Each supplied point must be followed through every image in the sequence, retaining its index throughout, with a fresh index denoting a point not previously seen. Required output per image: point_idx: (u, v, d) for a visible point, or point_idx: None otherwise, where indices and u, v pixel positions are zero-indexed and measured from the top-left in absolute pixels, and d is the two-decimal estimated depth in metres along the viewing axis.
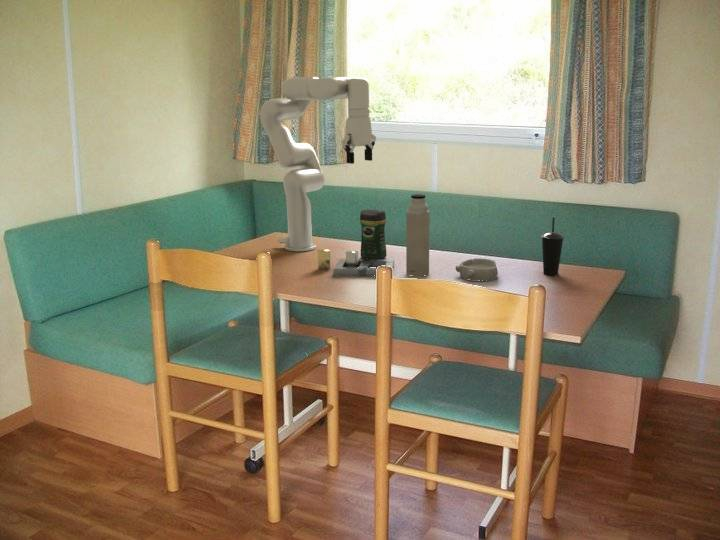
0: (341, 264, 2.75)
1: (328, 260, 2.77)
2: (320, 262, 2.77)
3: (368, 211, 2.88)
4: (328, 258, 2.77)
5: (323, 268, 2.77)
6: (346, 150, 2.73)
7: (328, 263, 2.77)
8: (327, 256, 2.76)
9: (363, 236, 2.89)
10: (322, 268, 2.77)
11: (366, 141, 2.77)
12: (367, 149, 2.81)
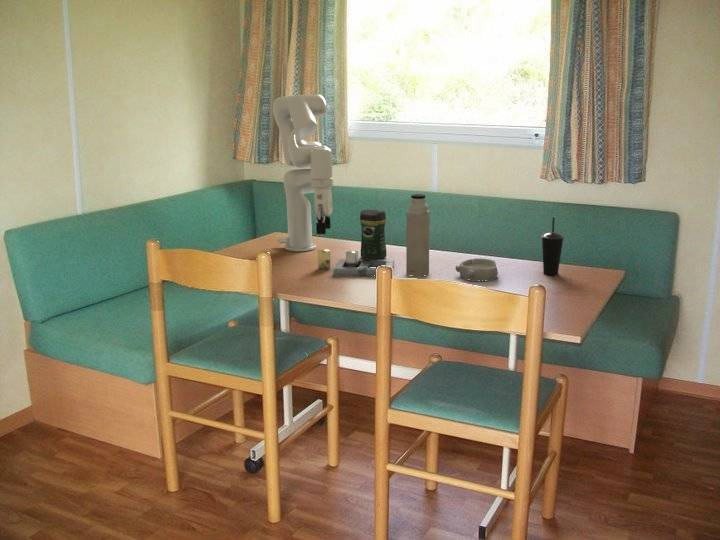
0: (341, 264, 2.75)
1: (328, 260, 2.77)
2: (320, 262, 2.77)
3: (368, 211, 2.88)
4: (328, 258, 2.77)
5: (323, 268, 2.77)
6: None
7: (328, 263, 2.77)
8: (327, 256, 2.76)
9: (363, 236, 2.89)
10: (322, 268, 2.77)
11: None
12: None
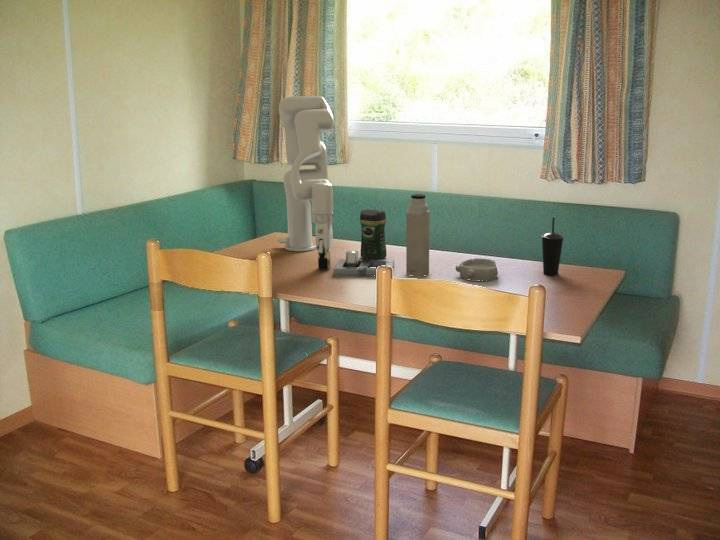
0: (341, 264, 2.75)
1: (328, 260, 2.77)
2: None
3: (368, 211, 2.88)
4: (328, 258, 2.77)
5: None
6: None
7: (328, 263, 2.77)
8: (327, 256, 2.76)
9: (363, 236, 2.89)
10: None
11: None
12: None
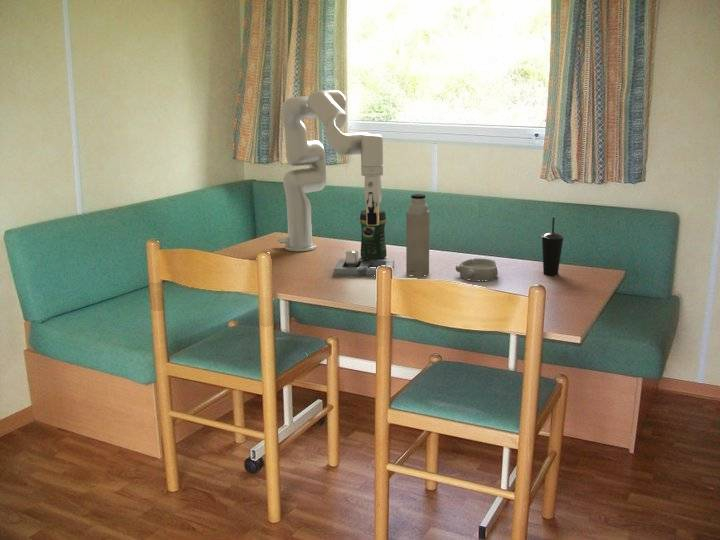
0: (341, 264, 2.75)
1: (377, 215, 2.68)
2: None
3: None
4: (377, 213, 2.68)
5: None
6: None
7: (377, 218, 2.69)
8: (376, 211, 2.68)
9: (363, 236, 2.89)
10: None
11: None
12: None
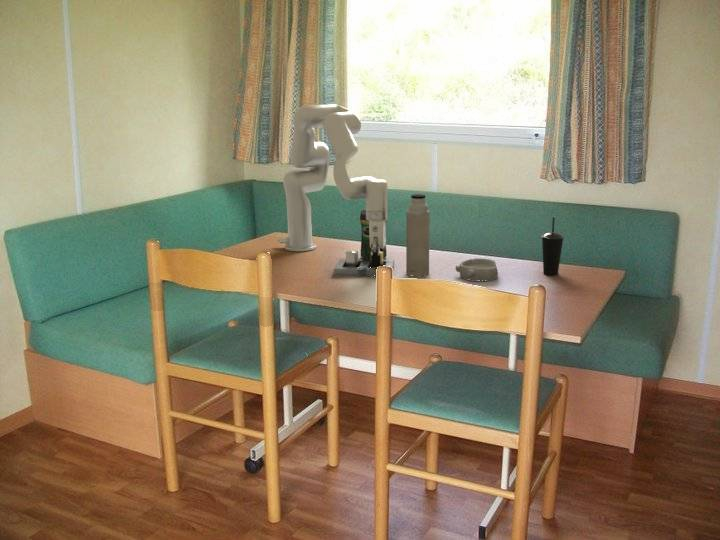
0: (341, 264, 2.75)
1: (381, 262, 2.73)
2: None
3: None
4: (381, 260, 2.73)
5: None
6: None
7: (381, 265, 2.73)
8: (380, 258, 2.72)
9: (363, 236, 2.89)
10: None
11: None
12: None
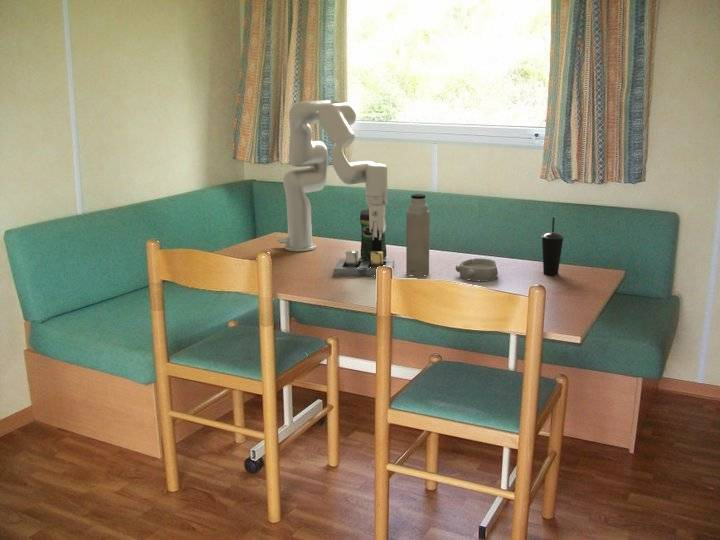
0: (341, 264, 2.75)
1: (381, 262, 2.73)
2: (373, 264, 2.73)
3: (368, 211, 2.88)
4: (381, 260, 2.73)
5: None
6: None
7: (381, 265, 2.73)
8: (380, 258, 2.72)
9: (363, 236, 2.89)
10: None
11: None
12: None
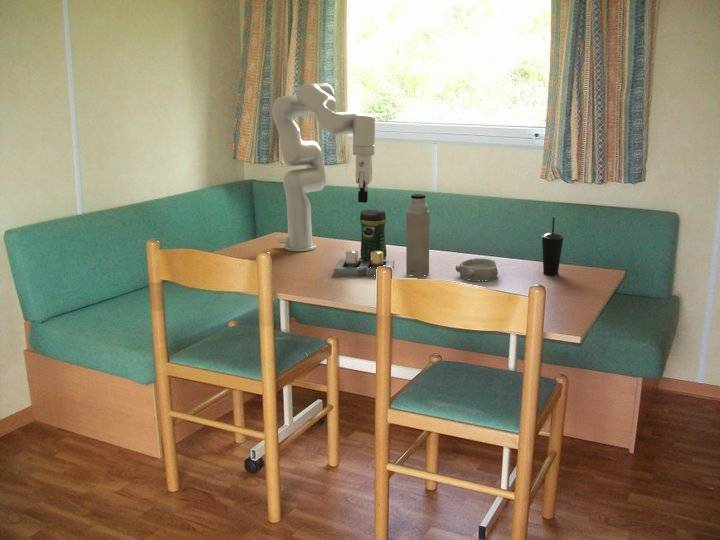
0: (341, 264, 2.75)
1: (381, 262, 2.73)
2: (373, 264, 2.73)
3: (368, 211, 2.88)
4: (381, 260, 2.73)
5: None
6: None
7: None
8: (380, 258, 2.72)
9: (363, 236, 2.89)
10: None
11: None
12: None
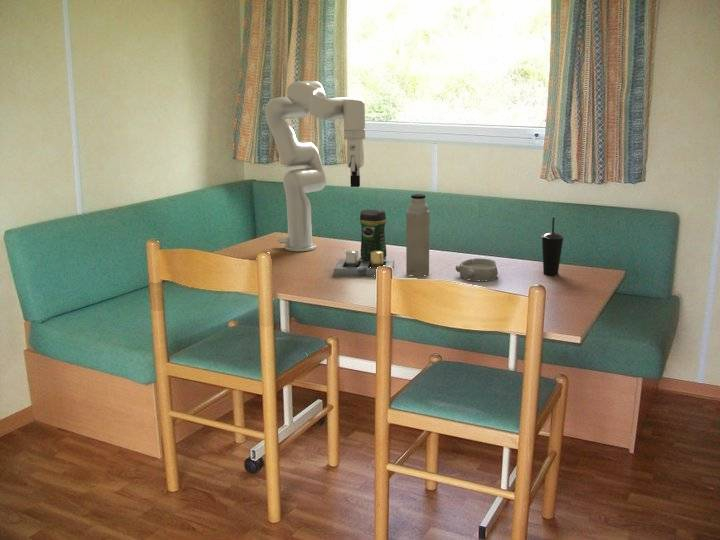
0: (341, 264, 2.75)
1: (381, 262, 2.73)
2: (373, 264, 2.73)
3: (368, 211, 2.88)
4: (381, 260, 2.73)
5: None
6: None
7: (381, 265, 2.73)
8: (380, 258, 2.72)
9: (363, 236, 2.89)
10: None
11: None
12: None
